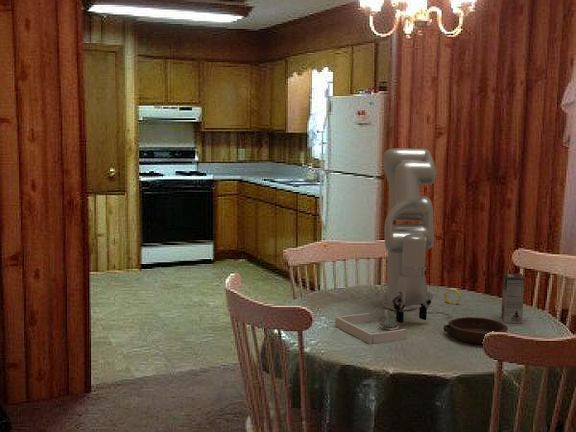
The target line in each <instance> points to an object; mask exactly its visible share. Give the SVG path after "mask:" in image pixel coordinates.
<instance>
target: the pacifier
mask: <svg viewBox="0 0 576 432" xmlns="http://www.w3.org/2000/svg"><path fill="white" fill-rule="evenodd" d="M383 314H384V318H385V320H384V322H383V323H382V322H381V323H379V326H382V327H384V330H387V331H393V330H400V325H399V324H398V322H397V321H396V318H395V319H394V318H392V317H391V311H390V309H387V308H386V309H385V310H384V312H383Z"/></svg>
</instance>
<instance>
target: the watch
mask: <svg viewBox="0 0 576 432" xmlns="http://www.w3.org/2000/svg"><path fill="white" fill-rule="evenodd" d="M448 292H455V293H457V295H458V300H457V302H451V301H450V300H448V298H447V294H448ZM461 297H462V296H461V294H460V292H459V290H458V289H457V288H455V287H450V288H449V289H448V290H446V292H445V293H444V300H445V302H446V303H447V304H450V305H457V304H459V302H460V301H461V299H462V298H461Z"/></svg>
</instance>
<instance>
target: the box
mask: <svg viewBox="0 0 576 432" xmlns="http://www.w3.org/2000/svg"><path fill="white" fill-rule="evenodd" d="M371 317H372V316H371V312H365V313H355V314H349V315H342V316H341V315H340V316H335V318H334V326H335V327H337V328H339V329H340V330H342V331H345V332H346V333H349V334H350V335H352V336H354V337H356V338H357V339H359V340H361V341H364V342H365V343H367V344H369V345H374V344H383V343H387V342H388V343H390V342H394V341H401V340H407V333H408V331H407V329H406V328H402V329H400V328H399V329H396V330H387V331H378V332H374V333H372V332H370V331H368V330H366V329H363V328H361V327H360V326H357V325H358V324H364V323H365V324H366V323H371Z"/></svg>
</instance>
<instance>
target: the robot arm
mask: <svg viewBox="0 0 576 432" xmlns="http://www.w3.org/2000/svg"><path fill="white" fill-rule="evenodd" d="M382 164H383V165H382V166H383V170H384V174H385V177H386V180H387V183H388V187H389V188H388V189H389V190H388V191H389V197H388V198H389V199H388V200H389V212H388V214H387V216H386V218H385V220H384V227H383V228H384V231H383V232H384V247H385V250H386V251H387V288H386V289H387V291H386V292H385V293H383V294H382V295H383V297H384V298H385V300H384V301H383V302H382V306H383V308H384V309H386V310H387V309H388V310H392V311H396V312H395V314H396V315H395V320H396V321H397V323H399V324H404V317H405V315H404V314H405V312H404V311H411V310H412V311H413V310H415V309H416V308H417V306H420V307H419V310H418V311H419V312H418V317H419V319H420V320H423V321H427V310H428V309H429V308H430V307H429V306H430V304H432V300H433V298H434V294H432V293H431V292H428V287H427V286H428V285H427V277H426V275H425V271H427V267H426V265H425V264H426V263H425V258H426V257H425V256H426V250H430V249H431V248H433V246H434V244H435V243H434V242H435V232H434V230H435V229H434V227H435V226H434V225H435V224H434V208H433V207H434V206H433V202H432V200H431V199H430V198H429V197H428V196H426V195H421V193H420V189H421V188H420V186H421V185H426V186H429V185H431V186H432V185H433V184H434V183H435V181H436V177H437V170H436V165H435V161H434V158H433V156H432V153H431V151H429V149H427V148H418V147H417V148H407V147H401V148H400V147H399V148H397V147H395V148H394V147H393V148H390V149H387V150H385V151H384V154H383V156H382ZM394 221H399V222H401V221H402V222H419V223H418V224H416V223H395V224H394Z"/></svg>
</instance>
